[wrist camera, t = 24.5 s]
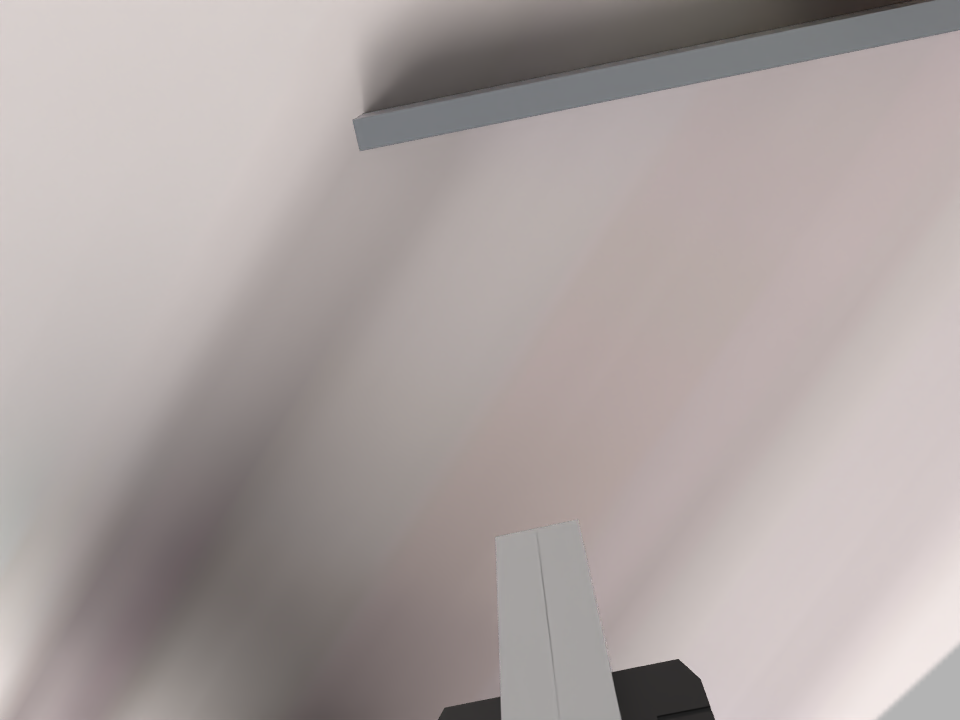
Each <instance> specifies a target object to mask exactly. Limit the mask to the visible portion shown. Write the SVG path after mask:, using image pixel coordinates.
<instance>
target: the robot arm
mask: <svg viewBox="0 0 960 720" xmlns="http://www.w3.org/2000/svg"><path fill="white" fill-rule="evenodd" d="M495 543H496V573H497V603H498V634H499V664H500V694H501V697H497V698H492V699H487V700H482V701H477V702H472V703H466V704H461V705H456V706H451V707H446V708H444V710H443V712H442V714H441V715H440V717H439V719H438V720H715V718H714V715H713V713H712V711H711V708H710V704H709V701H708V699H707V696H706V693H705V690H704V687H703V685H702V682H701V679H700V678H699V677H698V676H696V675H695V674H694V673H693V672H692V671H691V670H690V669H689V668H688V667H687V666H685V665H684V664H683V663H682V662H681V661H680V660H679V659H676V660H671V661H666V662H661V663H656V664H651V665H646V666H641V667H636V668H631V669H626V670H621V671H616V672H612V667H611V662H610V658H609V653H608V648H607V644H606V640H605V635H604V631H603V627H602V622H601V618H600V613H599V609H598V605H597V600H596V596H595V591H594V587H593V583H592V578H591V574H590V569H589V565H588V561H587V556H586V552H585V547H584V543H583V539H582V534H581V530H580V526H579V521H578V519H577V520H573V521H568V522H563V523H559V524H554V525H549V526H544V527H540V528H535V529H530V530H525V531H521V532H516V533H511V534H506V535H502V536H497V537H495Z"/></svg>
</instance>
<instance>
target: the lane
mask: <svg viewBox="0 0 960 720" xmlns="http://www.w3.org/2000/svg"><path fill="white" fill-rule="evenodd" d="M958 30H960V0H913V1H908V2H904V3H899V4H894V5H889V6H884V7H879V8H874V9H869V10H865V11H860V12H855V13H850V14H845V15H840V16H835V17H831V18H826V19H821V20H816V21H811V22H806V23H801V24H796V25H792V26H787V27H782V28H777V29H772V30H767V31H762V32H758V33H753V34H748V35H743V36H738V37H733V38H728V39H723V40H719V41H714V42H709V43H704V44H699V45H694V46H689V47H684V48H680V49H675V50H670V51H665V52H660V53H655V54H650V55H646V56H641V57H636V58H631V59H626V60H621V61H616V62H611V63H607V64H602V65H597V66H592V67H587V68H582V69H577V70H573V71H568V72H563V73H558V74H553V75H548V76H543V77H538V78H534V79H529V80H524V81H519V82H514V83H509V84H504V85H499V86H495V87H490V88H485V89H480V90H475V91H470V92H465V93H461V94H456V95H451V96H446V97H441V98H436V99H431V100H426V101H422V102H417V103H412V104H407V105H402V106H397V107H392V108H388V109H383V110H378V111H373V112H368V113H363V114H362V115H360V116H358V117H357V118H355V119H353V124H354V128H355V133H356V137H357V141H358V145H359V149H360V151H363V150H368V149H373V148H378V147H383V146H388V145H393V144H398V143H403V142H408V141H413V140H418V139H423V138H428V137H432V136H437V135H442V134H447V133H452V132H457V131H462V130H467V129H472V128H477V127H482V126H487V125H492V124H497V123H502V122H507V121H512V120H517V119H522V118H527V117H532V116H537V115H541V114H546V113H551V112H556V111H561V110H566V109H571V108H576V107H581V106H586V105H591V104H596V103H601V102H606V101H611V100H616V99H621V98H626V97H631V96H636V95H641V94H646V93H650V92H655V91H660V90H665V89H670V88H675V87H680V86H685V85H690V84H695V83H700V82H705V81H710V80H715V79H720V78H725V77H730V76H735V75H740V74H745V73H750V72H755V71H759V70H764V69H769V68H774V67H779V66H784V65H789V64H794V63H799V62H804V61H809V60H814V59H819V58H824V57H829V56H834V55H839V54H844V53H849V52H854V51H859V50H864V49H868V48H873V47H878V46H883V45H888V44H893V43H898V42H903V41H908V40H913V39H918V38H923V37H928V36H933V35H938V34H943V33H948V32H953V31H958Z"/></svg>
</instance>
